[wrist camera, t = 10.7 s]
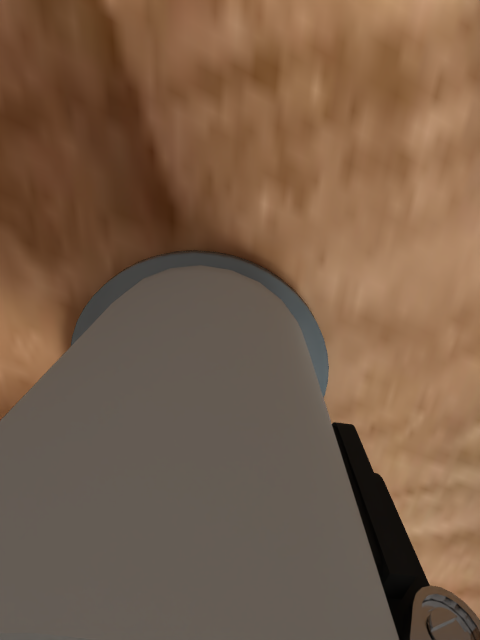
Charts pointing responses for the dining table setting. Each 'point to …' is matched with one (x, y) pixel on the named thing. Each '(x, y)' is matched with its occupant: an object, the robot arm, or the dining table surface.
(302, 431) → the cup
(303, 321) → the coaster
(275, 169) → the dining table surface
